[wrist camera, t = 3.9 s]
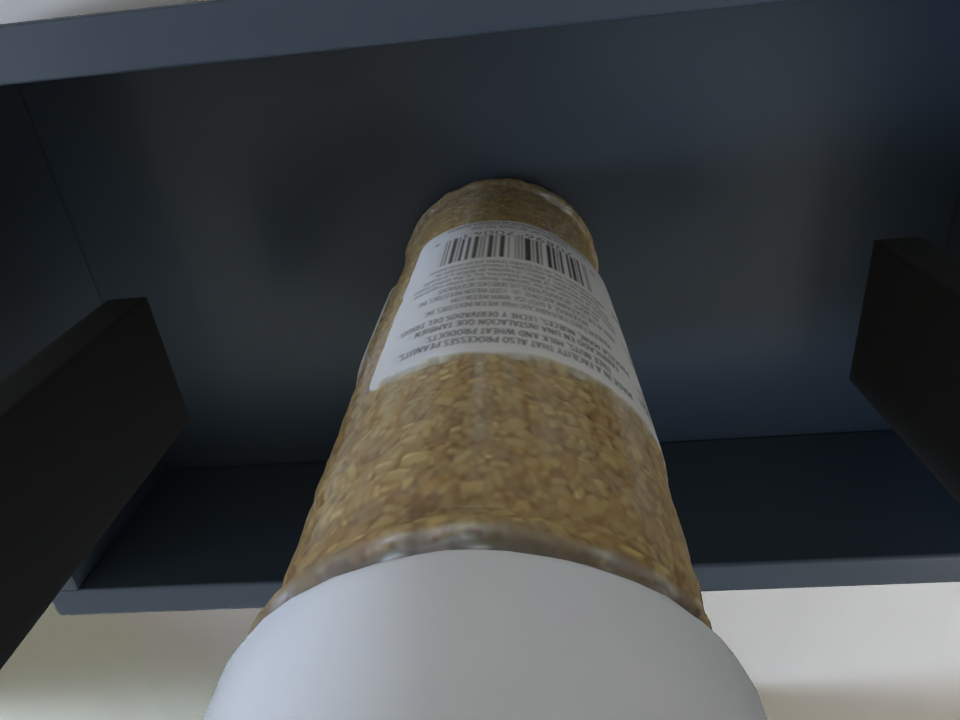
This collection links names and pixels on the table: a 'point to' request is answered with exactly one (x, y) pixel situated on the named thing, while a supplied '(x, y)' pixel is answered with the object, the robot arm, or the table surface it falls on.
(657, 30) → the dark grey open tray
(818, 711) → the table surface
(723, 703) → the sprinkles bottle
